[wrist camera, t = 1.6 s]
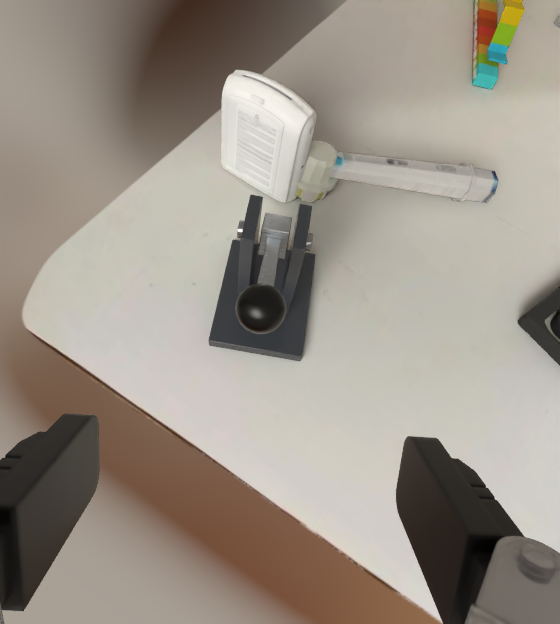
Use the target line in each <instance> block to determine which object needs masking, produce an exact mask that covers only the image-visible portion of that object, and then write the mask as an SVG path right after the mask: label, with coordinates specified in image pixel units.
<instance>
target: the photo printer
mask: <svg viewBox="0 0 560 624" xmlns="http://www.w3.org/2000/svg"><path fill="white" fill-rule="evenodd" d="M316 118H317V115H316V112H315V111H314V110H313V108H312V107H311V106H310V105H309V104H308V103H307V102H306V101H305V100H303V99H302V98H301V97H300V96H299V95H297V94H296V93H295V92H293V91H292V90H290V89H289V88H287V87H286V86H284V85H282V84H281V83H279V82H277V81H275V80H273V79H271V78H269V77H266V76H264V75H261V74H258V73H254V72H250V71H244V70H235V71H234V73H233V74H230V75H229V76H228V78H227V80H226V82H225V85H224V88H223V92H222V137H221V163H222V166H223V167H224V168H225V169H226V170H227V171H229V172H230V173H232V174H233V175H235V176H237V177H238V178H240V179H241V180H243V181H245V182H246V183H248V184H250V185H251V186H253V187H255V188H257V189H258V190H260V191H262V192H263V193H265V194H267V195H269V196H270V197H272V198H274V199H276V200H278V201H280V202H283V203H286V202H290V201H293V200H294V199H295V198H296V197H297V196H296V193H297V190H298V187H296V186H297V183H298V182H299V181H300V180H301V179H302V176H303V172H304V168H305V165H306V161H307V157H308V153H309V149H310V146H311V141H312V137H313V133H314V128H315V124H316Z"/></svg>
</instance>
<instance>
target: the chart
mask: <svg viewBox="0 0 560 624" xmlns="http://www.w3.org/2000/svg"><path fill="white" fill-rule="evenodd" d="M522 1H523V0H503V4H504V7H505V9H504V11H503V13H502V16H501V18H500V21H499V23H498V26H497V0H474V31H473V64H472V65H473V73H472V74H473V76H472V85H476V86H480V87H484V88H488V89H492V87H493V86H494V84H495V82H496V81H497V79H498V63H502V64H507V58H506V52H507V50H508V47H509V45H510V43H511V40H512V38H513V36H514V33H515V31H516V29H517V26H518V24H519V22H520V19H521V17H522V15H523V12H524V10H525V9H524V7H523V4H522Z"/></svg>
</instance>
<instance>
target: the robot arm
mask: <svg viewBox="0 0 560 624" xmlns="http://www.w3.org/2000/svg"><path fill="white" fill-rule="evenodd" d="M98 479H99V423H98V419H97V417H96V416H95V415H81V414H63V415H62V416H61V417H60V418H59V419H58V420H57V421H56V422H55V423H54V424H53V425H52V426H51V427H50V429H48V431H47V432H38V433H36V434H34V435H32V436H30V437H28V438H26V439H24V440H22V441H21V442H19V443H18V444H17V445H16V446H15V447H14V448H13V449H12V450H11V451H9V452H8V453H7V454H6V456H5V458H2V459H1V460H0V624H4V620H3V615H2V610H13V611H24V609H25V608H26V606H27V604H28V603H29V601H30V599H31V598H32V596H33V594H34V593H35V591H36V589H37V588H38V586H39V585H40V583H41V581H42V580H43V578H44V576H45V575H46V573H47V571H48V570H49V568H50V566H51V565H52V563H53V561H54V560H55V558H56V556H57V555H58V553H59V551H60V550H61V548H62V546H63V545H64V543H65V541H66V539H67V538H68V536H69V535H70V533H71V532H72V530H73V528H74V526H75V525H76V523H77V521H78V520H79V518H80V517H81V515H82V513H83V512H84V510H85V508H86V507H87V505H88V503H89V502H90V500H91V498H92V497H93V495H94V493H95V490H96V487H97V484H98ZM396 503H397V509H398V513H399V516H400V518H401V521H402V523H403V526H404V528H405V531H406V533H407V536H408V538H409V541H410V543H411V545H412V548H413V550H414V553H415V555H416V558H417V560H418V563H419V565H420V568H421V570H422V572H423V575H424V577H425V580H426V582H427V585H428V587H429V590H430V592H431V595H432V597H433V600H434V602H435V604H436V607H437V609H438V612H439V614H440V617H441V619H442V622H443V624H560V553H558V552H557V551H555V550H554V549H552V548H550V547H549V546H547V545H545V544H543V543H541V542H538V541H536V540H533V539H530V538H526V537H524V536H523V534H522V533H521V532H520V530H519V529H518V528H517V526H516V525H515V524H514V522H513V521H512V520H511V518H510V517H509V516H508V514H507V513H506V512H505V510H504V509H503V508H502V506H501V505H500V504H499V502H498V501H497V500H495V499H494V496H493V494H492V493H491V492H490V490H489V489H488V488H486V485H485V484H484V482H483V481H482V480H481V478H480V477H479V476H478V474H477V473H476V472H475V471H474V470H473V469H471V468H470V467H469V466H467V465H466V464H465V463H463V462H462V461H460V460H459V459H454V458H451V457H450V455H449V454H448V452H447V451H446V449H445V448H444V447H443V445H442V444H441V442H440V441H439V440H438V439H437V438H427V437H411V436H408V437H407V438H406V440H405V442H404V446H403V452H402V458H401V464H400V470H399V476H398V482H397V489H396Z"/></svg>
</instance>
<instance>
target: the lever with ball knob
mask: <svg viewBox="0 0 560 624" xmlns="http://www.w3.org/2000/svg"><path fill="white" fill-rule="evenodd" d="M291 222H292V218H291V217H286V216H281V215H276V214H270V213H266V214H265V218H264V222H263V225H262V230H261V237H260V244H259V250H258V254H260V255H264V256H263V260H262V265H261V269H260V274H259V278H258V283H257V284H254V285H251V286H249V287H247V288H246V289H244V290H243V291H242V292H241V294H240V295H239V297H238V299H237V302H236V316H237V318H238V321H239V322H240V324H241V325H242V326H243V327H244V328H245V329H246V330H248V331H250V332H252V333H256V334H266V333H270V332H272V331H274V330H275V329H277V328H278V327H279V326H280V325H281V323H282V322H283V320H284V318H285V315H286V303H285V300H284V297H283V296H282V294H281V293H280V292H279V290H277V289H276V288H275V287H274V281H275V275H276V269H277V263H278V258H282V259H285V256H286V251H287V245H288V240H289V235H290V229H291Z"/></svg>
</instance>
